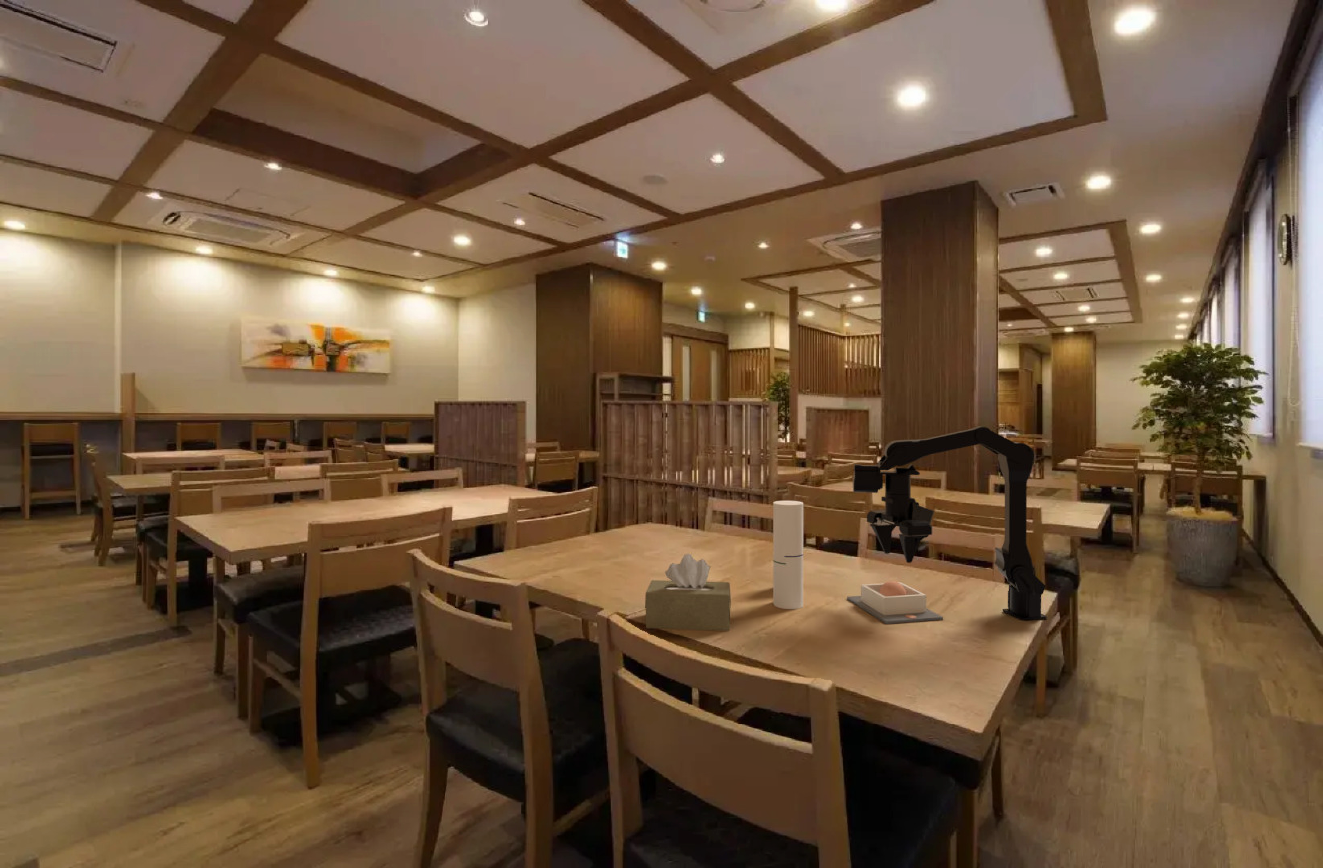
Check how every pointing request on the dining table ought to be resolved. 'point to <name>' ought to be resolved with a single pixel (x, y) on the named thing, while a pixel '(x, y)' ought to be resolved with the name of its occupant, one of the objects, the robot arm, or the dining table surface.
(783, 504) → the cylindrical container
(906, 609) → the tray on grey plate
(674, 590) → the tissue box
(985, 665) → the dining table surface
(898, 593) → the terracotta ball
